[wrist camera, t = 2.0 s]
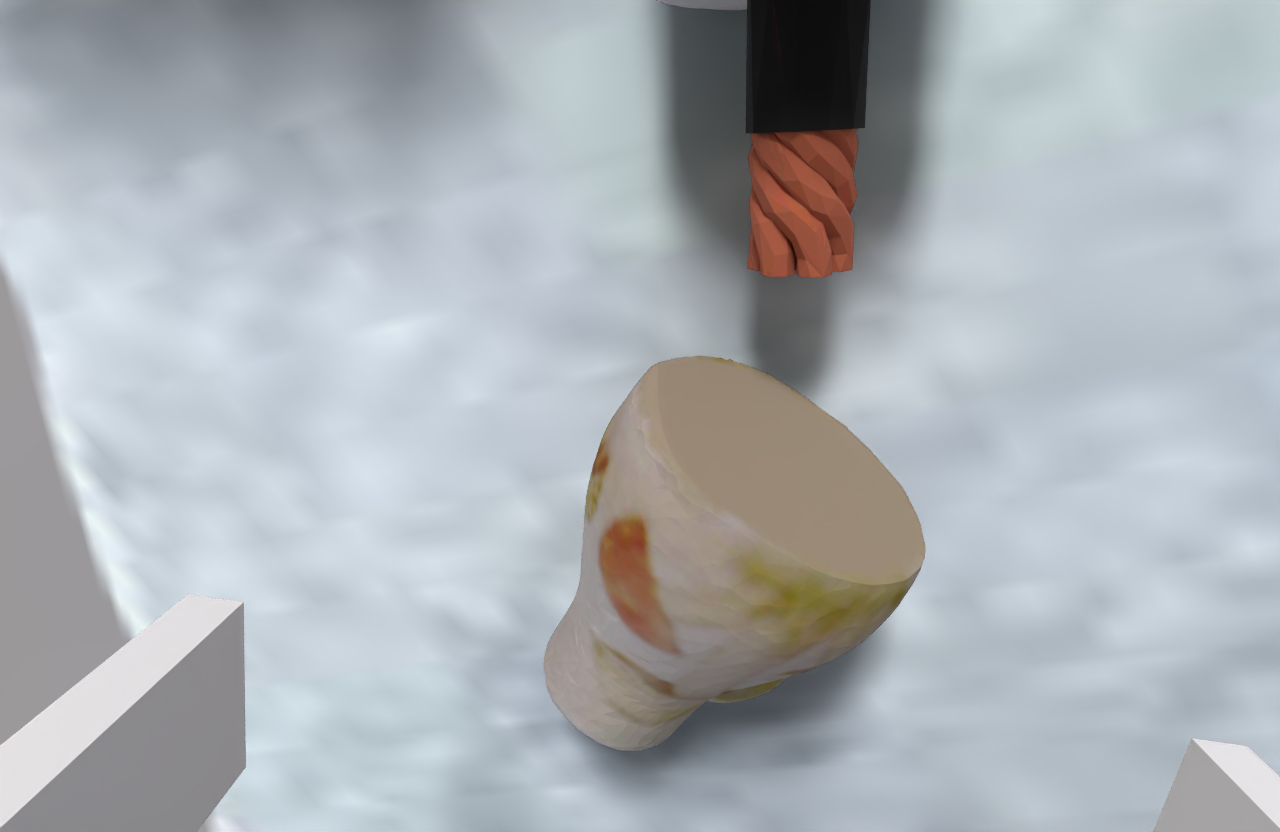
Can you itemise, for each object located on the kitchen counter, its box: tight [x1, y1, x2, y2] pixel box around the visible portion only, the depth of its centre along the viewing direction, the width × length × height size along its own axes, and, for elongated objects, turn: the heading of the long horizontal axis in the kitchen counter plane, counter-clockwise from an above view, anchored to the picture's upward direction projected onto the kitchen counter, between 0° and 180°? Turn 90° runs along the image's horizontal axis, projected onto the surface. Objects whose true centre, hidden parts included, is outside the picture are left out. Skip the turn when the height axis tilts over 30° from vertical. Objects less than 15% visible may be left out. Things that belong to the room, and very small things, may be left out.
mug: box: [544, 356, 925, 751], centre depth 17 cm, size 8×10×10 cm
